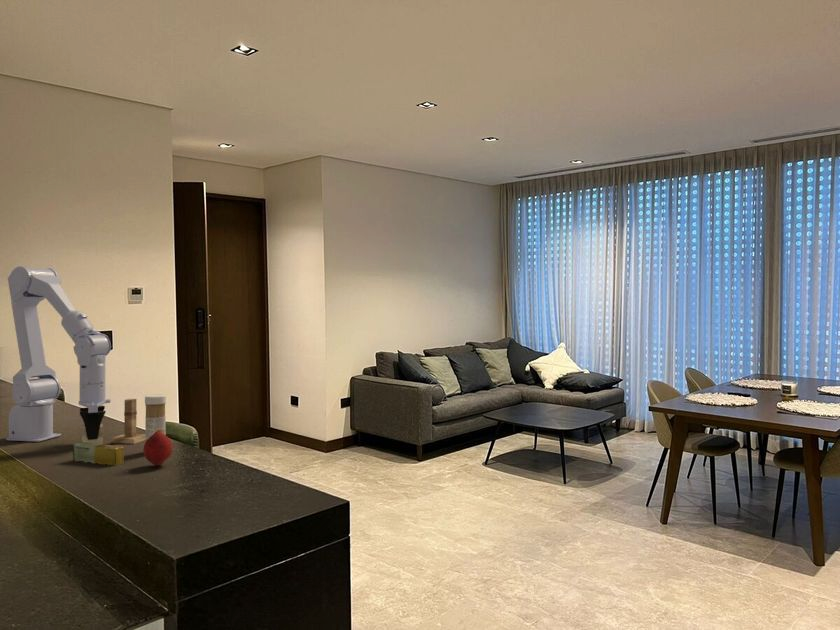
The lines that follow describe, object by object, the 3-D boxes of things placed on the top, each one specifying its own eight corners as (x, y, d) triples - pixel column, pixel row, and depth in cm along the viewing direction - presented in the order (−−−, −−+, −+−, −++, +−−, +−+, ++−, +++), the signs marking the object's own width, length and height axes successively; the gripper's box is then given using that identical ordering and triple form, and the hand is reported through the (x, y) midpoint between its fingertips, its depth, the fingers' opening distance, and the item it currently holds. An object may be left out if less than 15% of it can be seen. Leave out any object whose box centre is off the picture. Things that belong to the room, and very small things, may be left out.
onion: (161, 470, 132) (162, 432, 132) (137, 468, 133) (137, 431, 133) (178, 463, 138) (178, 427, 138) (154, 462, 139) (154, 426, 139)
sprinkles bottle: (162, 448, 152) (162, 393, 152) (168, 452, 148) (168, 395, 148) (142, 451, 149) (142, 394, 149) (148, 455, 145) (148, 397, 145)
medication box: (71, 462, 139) (71, 444, 139) (81, 459, 142) (81, 441, 142) (115, 466, 136) (115, 448, 135) (125, 463, 138) (124, 445, 138)
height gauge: (112, 442, 158) (112, 400, 158) (126, 437, 164) (126, 397, 164) (134, 443, 157) (134, 401, 157) (148, 438, 163) (148, 398, 163)
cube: (82, 443, 157) (82, 425, 157) (102, 441, 159) (102, 423, 159) (82, 446, 153) (82, 428, 153) (102, 444, 156) (102, 426, 155)
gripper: (111, 385, 152) (111, 441, 152) (109, 379, 165) (109, 430, 165) (78, 386, 148) (78, 444, 149) (78, 380, 161) (78, 433, 161)
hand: (92, 437), depth 156 cm, fingers closed on cube, 4 cm apart
